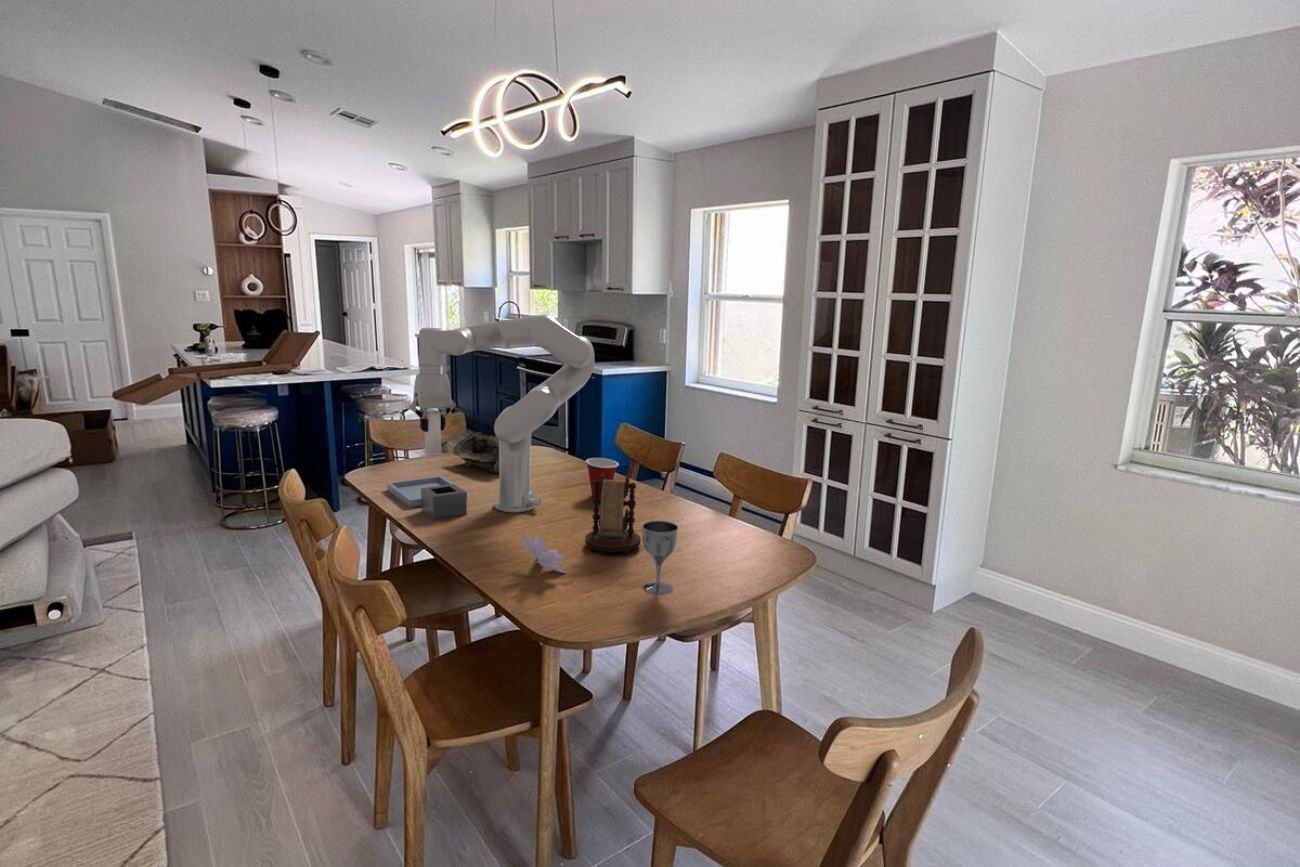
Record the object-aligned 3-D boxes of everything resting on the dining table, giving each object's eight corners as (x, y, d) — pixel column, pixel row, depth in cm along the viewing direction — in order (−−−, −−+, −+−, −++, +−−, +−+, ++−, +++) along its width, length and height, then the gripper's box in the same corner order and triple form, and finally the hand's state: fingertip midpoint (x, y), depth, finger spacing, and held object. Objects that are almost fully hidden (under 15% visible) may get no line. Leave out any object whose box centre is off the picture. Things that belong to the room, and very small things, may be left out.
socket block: (466, 514, 205) (466, 492, 204) (433, 520, 199) (433, 497, 198) (453, 505, 213) (453, 483, 211) (421, 510, 207) (420, 488, 205)
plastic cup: (616, 501, 223) (617, 465, 221) (583, 500, 223) (584, 464, 221) (618, 492, 234) (619, 457, 231) (587, 490, 234) (587, 456, 231)
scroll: (579, 554, 178) (580, 479, 174) (591, 534, 192) (593, 465, 188) (635, 559, 176) (638, 484, 172) (644, 539, 191) (646, 469, 186)
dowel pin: (443, 452, 209) (443, 413, 206) (428, 453, 206) (428, 414, 204) (436, 449, 212) (436, 410, 210) (422, 450, 209) (422, 411, 207)
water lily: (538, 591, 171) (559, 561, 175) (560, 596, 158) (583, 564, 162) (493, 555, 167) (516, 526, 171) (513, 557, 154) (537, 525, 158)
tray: (466, 499, 219) (466, 491, 219) (410, 508, 209) (410, 500, 208) (441, 482, 236) (440, 475, 236) (387, 490, 226) (387, 482, 225)
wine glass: (673, 580, 164) (676, 521, 161) (675, 595, 156) (679, 532, 153) (640, 580, 164) (642, 520, 161) (640, 594, 156) (643, 531, 153)
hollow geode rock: (507, 489, 248) (532, 456, 252) (484, 469, 240) (511, 436, 244) (468, 470, 268) (492, 440, 272) (446, 451, 259) (471, 420, 264)
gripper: (453, 367, 212) (453, 425, 216) (399, 369, 201) (400, 430, 205) (464, 370, 207) (464, 430, 211) (409, 372, 196) (410, 435, 200)
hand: (432, 429), depth 208 cm, fingers closed on dowel pin, 4 cm apart
